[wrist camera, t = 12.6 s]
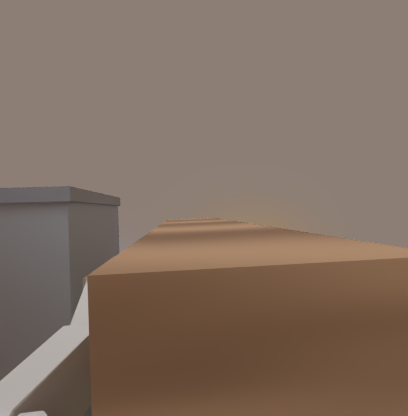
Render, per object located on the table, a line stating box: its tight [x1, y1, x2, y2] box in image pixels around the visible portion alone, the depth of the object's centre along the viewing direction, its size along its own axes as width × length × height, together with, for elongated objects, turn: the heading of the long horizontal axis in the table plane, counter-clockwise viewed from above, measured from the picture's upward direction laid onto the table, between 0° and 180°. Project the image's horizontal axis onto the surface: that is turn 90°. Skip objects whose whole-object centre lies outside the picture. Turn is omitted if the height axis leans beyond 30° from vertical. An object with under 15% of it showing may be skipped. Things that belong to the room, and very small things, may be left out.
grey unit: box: [0, 186, 120, 416], centre depth 21 cm, size 13×10×26 cm
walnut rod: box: [87, 218, 408, 416], centre depth 14 cm, size 22×4×4 cm, turn 5°
